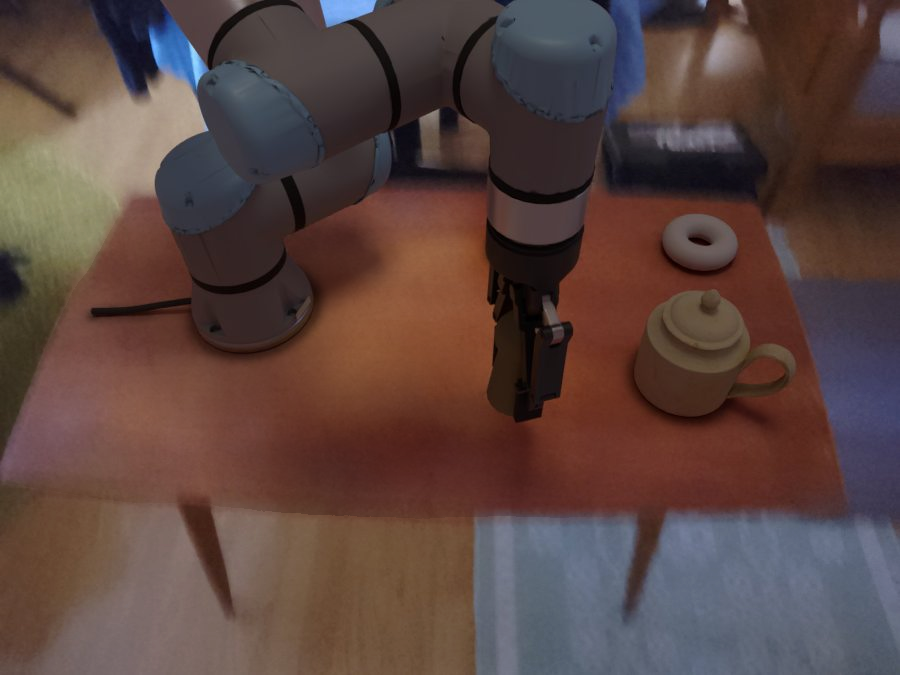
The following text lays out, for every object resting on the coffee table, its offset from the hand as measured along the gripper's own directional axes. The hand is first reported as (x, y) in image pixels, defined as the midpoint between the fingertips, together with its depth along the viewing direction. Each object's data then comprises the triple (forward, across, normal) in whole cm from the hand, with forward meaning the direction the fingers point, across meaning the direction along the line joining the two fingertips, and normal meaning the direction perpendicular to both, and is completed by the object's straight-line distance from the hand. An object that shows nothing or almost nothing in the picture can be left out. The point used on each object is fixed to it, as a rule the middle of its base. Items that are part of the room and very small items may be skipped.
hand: (516, 390), depth 70 cm
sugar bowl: (+8, 0, -23) cm, 25 cm away
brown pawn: (+1, 0, 0) cm, 1 cm away
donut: (+8, +20, -34) cm, 41 cm away
